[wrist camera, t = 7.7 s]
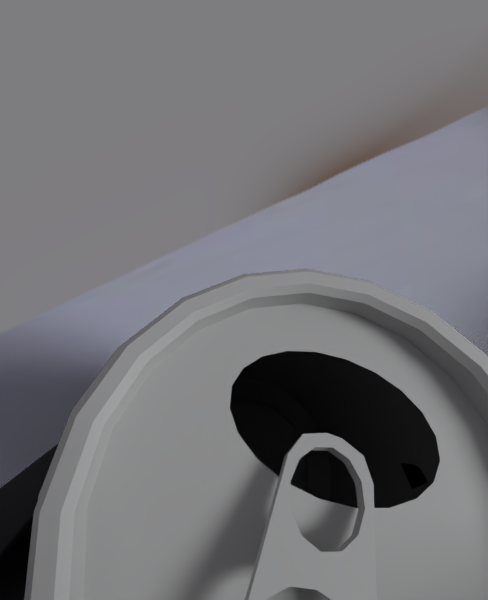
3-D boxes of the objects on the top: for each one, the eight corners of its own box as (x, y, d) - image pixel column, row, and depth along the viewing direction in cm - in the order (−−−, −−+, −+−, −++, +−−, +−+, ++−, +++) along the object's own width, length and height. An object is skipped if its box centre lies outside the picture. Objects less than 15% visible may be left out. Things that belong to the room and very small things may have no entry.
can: (339, 412, 15) (629, 317, 5) (303, 608, 12) (995, 1787, 1) (194, 361, 16) (157, 166, 5) (122, 536, 13) (-395, 1006, 2)
